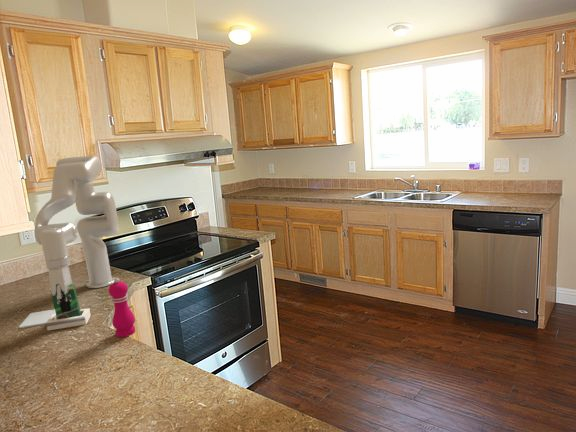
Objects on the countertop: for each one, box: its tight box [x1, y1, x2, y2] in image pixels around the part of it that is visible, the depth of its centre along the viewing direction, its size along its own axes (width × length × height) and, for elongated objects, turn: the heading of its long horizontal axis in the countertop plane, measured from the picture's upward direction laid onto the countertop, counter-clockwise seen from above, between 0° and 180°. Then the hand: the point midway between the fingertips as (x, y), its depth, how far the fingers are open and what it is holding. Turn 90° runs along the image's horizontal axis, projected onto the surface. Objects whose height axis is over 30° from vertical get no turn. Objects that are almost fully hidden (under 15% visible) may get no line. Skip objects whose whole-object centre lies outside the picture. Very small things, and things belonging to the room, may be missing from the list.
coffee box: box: [49, 283, 81, 320], centre depth 160 cm, size 8×3×13 cm, turn 105°
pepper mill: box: [108, 277, 136, 338], centre depth 146 cm, size 7×7×20 cm
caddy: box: [44, 308, 92, 332], centre depth 160 cm, size 9×13×3 cm
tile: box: [18, 308, 56, 330], centre depth 167 cm, size 13×11×1 cm
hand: (67, 308), depth 160 cm, fingers closed on coffee box, 3 cm apart
